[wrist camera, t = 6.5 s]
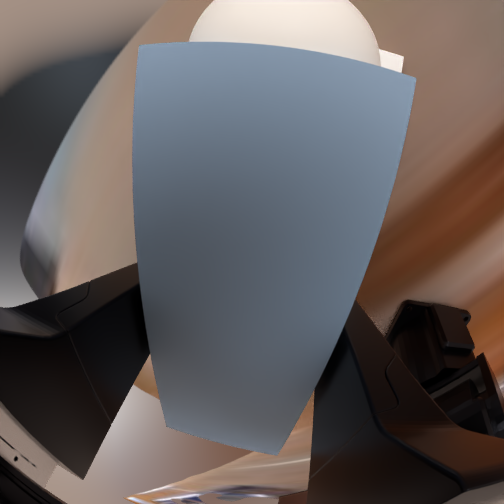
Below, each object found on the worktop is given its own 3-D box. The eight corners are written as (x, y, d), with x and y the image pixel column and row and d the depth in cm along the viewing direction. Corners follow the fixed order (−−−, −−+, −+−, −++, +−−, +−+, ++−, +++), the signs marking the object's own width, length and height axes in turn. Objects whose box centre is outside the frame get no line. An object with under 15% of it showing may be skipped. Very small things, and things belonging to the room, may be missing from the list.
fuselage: (290, 379, 13) (277, 455, 9) (198, 356, 13) (166, 426, 10) (378, 24, 6) (424, -25, 2) (222, 3, 6) (157, -48, 3)
